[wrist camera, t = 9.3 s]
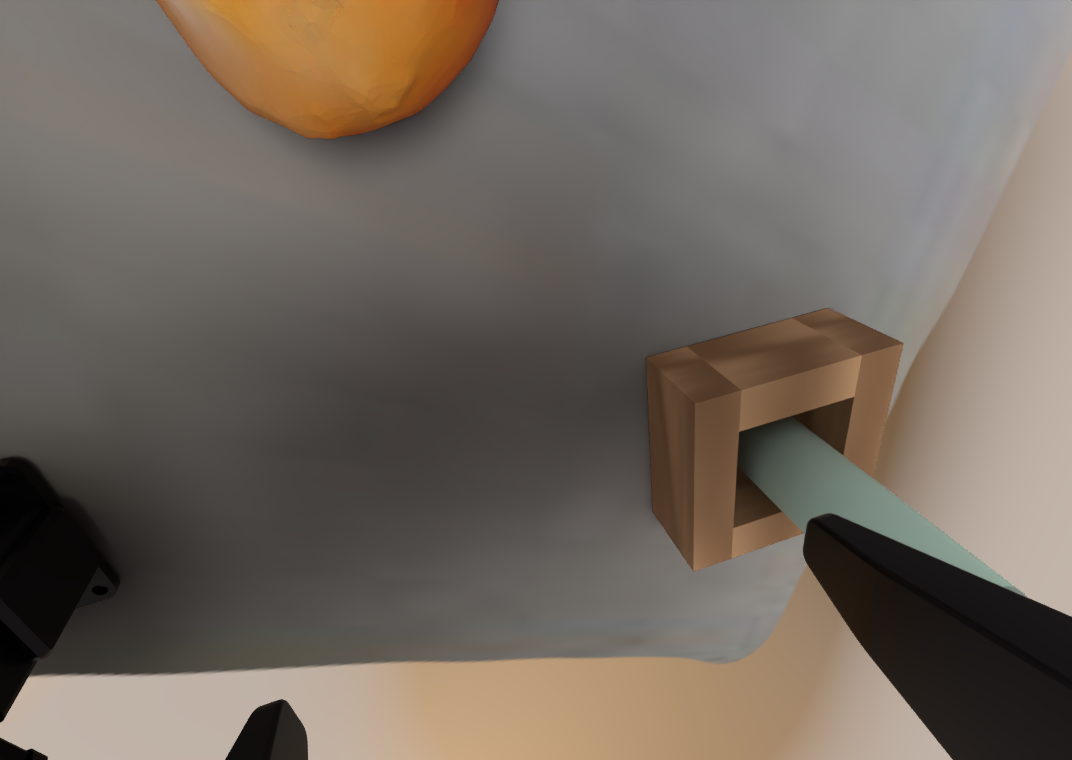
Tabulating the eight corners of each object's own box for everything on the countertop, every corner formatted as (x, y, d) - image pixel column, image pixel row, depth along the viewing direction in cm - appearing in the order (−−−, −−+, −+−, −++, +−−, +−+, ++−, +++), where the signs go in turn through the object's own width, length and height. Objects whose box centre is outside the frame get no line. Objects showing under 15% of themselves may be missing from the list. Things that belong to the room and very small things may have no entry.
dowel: (697, 444, 26) (959, 724, 15) (717, 385, 25) (1024, 643, 13) (751, 443, 27) (1038, 705, 16) (773, 387, 26) (1105, 628, 14)
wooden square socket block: (652, 512, 27) (693, 571, 24) (645, 357, 23) (694, 403, 20) (806, 462, 29) (865, 511, 26) (828, 308, 24) (903, 343, 21)
